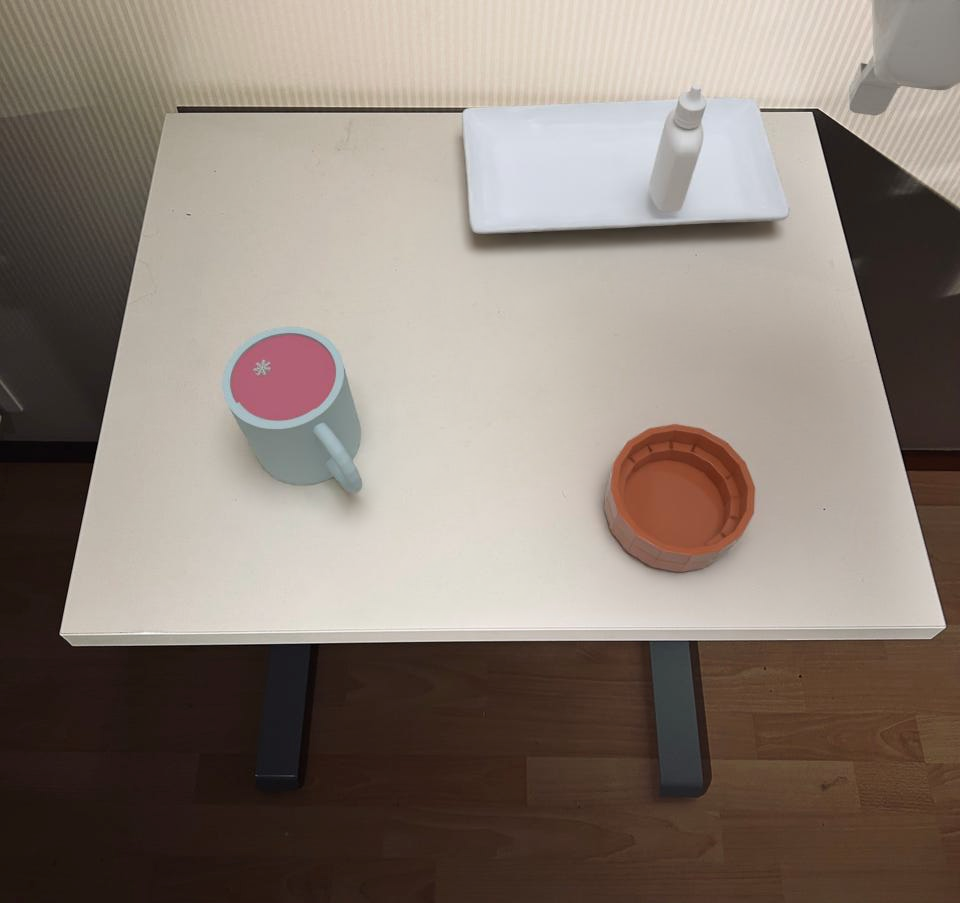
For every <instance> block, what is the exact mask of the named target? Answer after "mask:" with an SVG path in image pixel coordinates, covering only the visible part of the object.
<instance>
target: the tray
mask: <svg viewBox="0 0 960 903" xmlns="http://www.w3.org/2000/svg"><path fill="white" fill-rule="evenodd" d="M678 99H679V98H671V99H669V98H667V99H666V98H665V99H648V100H647V99H646V100H626V101H625V100H623V101H619V100H618V101H600V102H576V103H575V102H573V103H551V104H550V103H549V104H530V105H529V104H528V105H526V104H525V105H507V106H506V105H504V106H500V105H499V106H498V105H497V106H477V107H475V106H474V107H468V108H465V109H464V110H463V111H462V114H461V130H462V139H463V140H462V142H463V148H464V160H465V161H464V163H465V175H466V177H465V178H466V189H467V190H466V191H467V206H468V210H467V211H468V221H469V227H470V230H471V231H472V232H473V233H475V234H478V235H479V234H482V235H486V234H487V235H488V234H513V233H515V234H516V233H535V232H536V233H538V232H554V231H578V230H580V231H581V230H602V229H603V230H604V229H625V228H641V227H660V226H676V225H677V226H678V225H680V226H681V225H697V224H699V225H701V224H720V223H721V224H722V223H723V224H724V223H748V222H749V223H751V222H772V221H774V222H775V221H777V222H778V221H784V220H787V218H788V217H789V216H790V206H789V201H788V199H787V196H786V193H785V189H784V186H783V182H782V180H781V176H780V174H779V170H778V166H777V163H776V161H775V160H776V159H775V158H774V154H773V149H772V147H771V143H770V141H769V136H768V133H767V128H766V125H765V121H764V118H763V114H762V112H761V108H760V105H759V104H758V102H757V100H755V99H753V98H745V97H729V96H728V97H705V99H706V102H707V104H706V108H705V111H704V114H703V118H702V121H701V123H702V126H703V143H702V147H701V151H700V154H699V158H698V161H697V164H696V167H695V170H694V174H693V177H692V180H691V183H690V186H689V189H688V193H687V196H686V199H685V202H684V205H683V207H682V209H681V210H679V211H661V210H659V209H658V208H657V207H656V205H655V204H654V202H653V200H652V198H651V194H650V179H651V174H652V171H653V167H654V163H655V159H656V155H657V151H658V147H659V143H660V139H661V135H662V132H663V128H664V124H665V121H666V118H667V116H668V114H669V113H670V112H671V111H672V110H674V109H676V107H677V103H678Z"/></svg>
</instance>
